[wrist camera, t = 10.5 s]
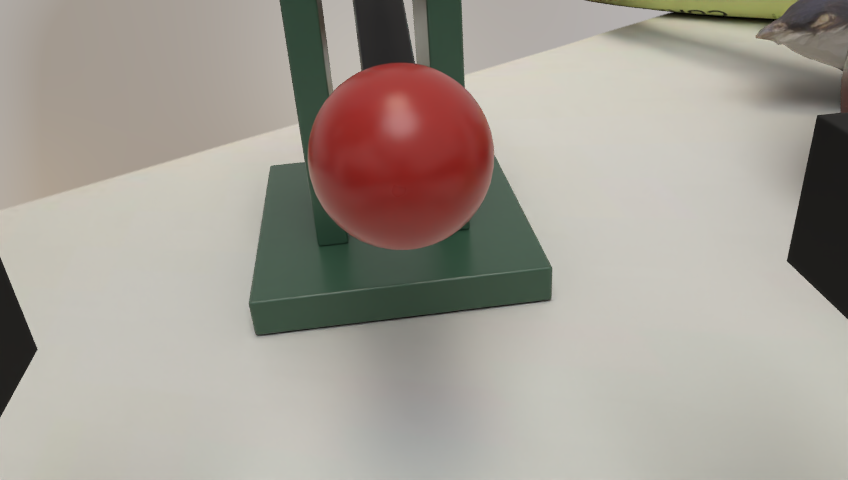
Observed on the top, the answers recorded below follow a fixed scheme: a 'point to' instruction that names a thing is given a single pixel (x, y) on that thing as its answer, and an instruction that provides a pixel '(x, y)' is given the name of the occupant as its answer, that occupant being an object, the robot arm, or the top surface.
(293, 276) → the bracket
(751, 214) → the top surface
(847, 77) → the vase
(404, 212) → the lever
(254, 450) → the top surface
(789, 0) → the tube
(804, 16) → the bird model
